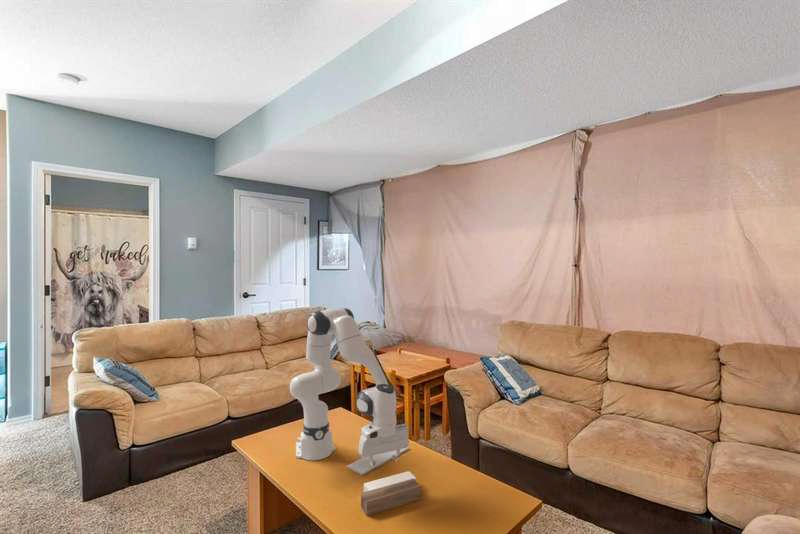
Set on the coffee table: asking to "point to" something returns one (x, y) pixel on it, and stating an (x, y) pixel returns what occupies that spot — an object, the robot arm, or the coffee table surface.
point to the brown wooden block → (390, 496)
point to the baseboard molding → (364, 463)
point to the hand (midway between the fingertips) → (384, 462)
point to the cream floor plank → (388, 481)
